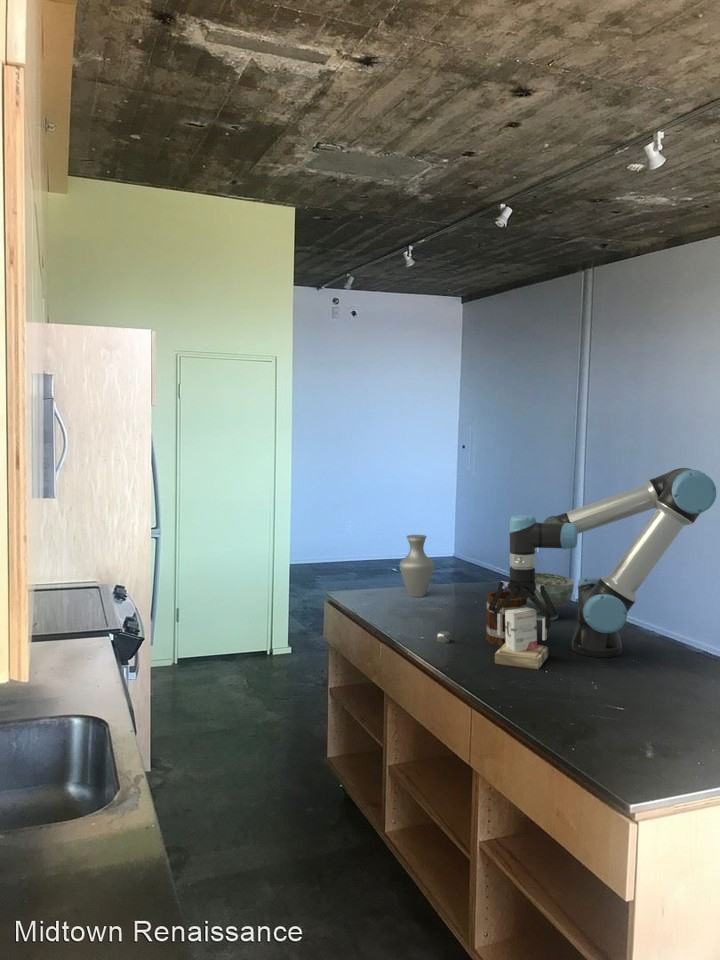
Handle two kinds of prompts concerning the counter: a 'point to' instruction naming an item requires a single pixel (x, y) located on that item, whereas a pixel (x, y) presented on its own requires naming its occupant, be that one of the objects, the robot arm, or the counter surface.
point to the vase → (416, 567)
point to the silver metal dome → (443, 637)
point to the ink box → (521, 629)
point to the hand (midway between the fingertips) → (521, 636)
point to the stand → (522, 657)
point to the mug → (492, 626)
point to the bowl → (553, 590)
